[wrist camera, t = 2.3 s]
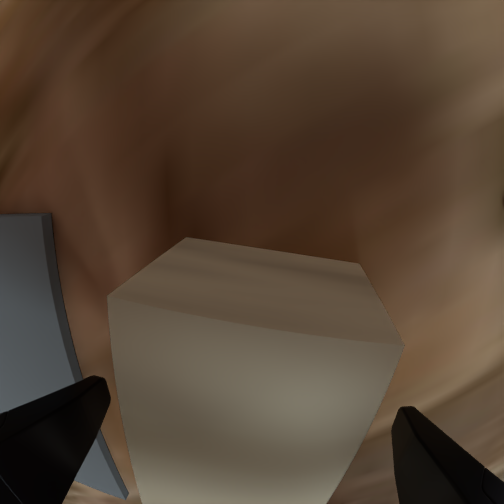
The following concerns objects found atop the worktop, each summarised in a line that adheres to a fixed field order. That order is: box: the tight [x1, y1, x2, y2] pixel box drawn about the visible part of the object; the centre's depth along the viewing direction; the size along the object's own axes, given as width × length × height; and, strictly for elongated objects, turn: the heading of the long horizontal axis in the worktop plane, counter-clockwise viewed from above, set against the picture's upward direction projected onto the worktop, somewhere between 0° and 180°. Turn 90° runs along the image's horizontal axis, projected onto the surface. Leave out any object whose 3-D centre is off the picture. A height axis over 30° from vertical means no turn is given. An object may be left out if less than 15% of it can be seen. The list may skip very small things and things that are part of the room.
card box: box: [107, 237, 405, 504], centre depth 9 cm, size 8×6×5 cm
